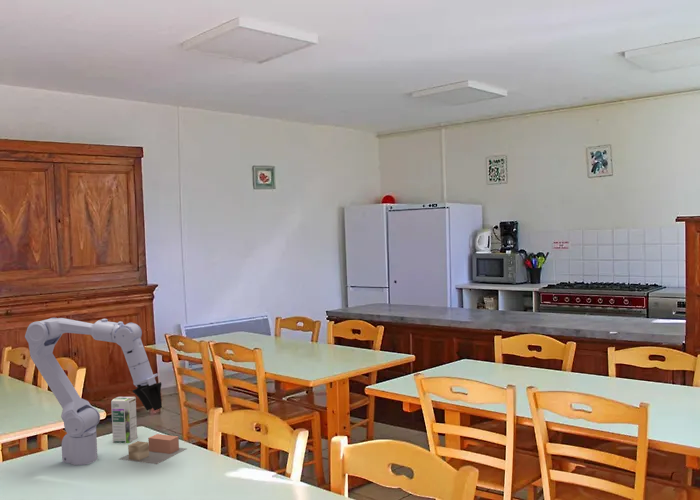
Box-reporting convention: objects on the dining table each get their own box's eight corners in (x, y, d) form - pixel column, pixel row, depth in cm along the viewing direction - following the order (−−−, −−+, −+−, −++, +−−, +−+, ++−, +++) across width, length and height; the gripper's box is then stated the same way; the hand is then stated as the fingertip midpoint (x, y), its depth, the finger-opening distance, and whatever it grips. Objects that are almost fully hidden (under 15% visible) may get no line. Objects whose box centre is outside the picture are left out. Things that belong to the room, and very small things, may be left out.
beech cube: (128, 459, 192) (128, 445, 192) (138, 454, 195) (137, 441, 195) (139, 460, 190) (139, 446, 190) (148, 455, 194) (148, 442, 194)
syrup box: (112, 446, 208) (110, 400, 207) (121, 440, 214) (119, 395, 213) (129, 446, 207) (127, 400, 206) (138, 440, 213) (136, 395, 212)
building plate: (118, 462, 192) (118, 459, 192) (150, 447, 205) (150, 444, 205) (156, 467, 186) (156, 464, 186) (187, 451, 199) (187, 448, 199)
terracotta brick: (148, 451, 198) (148, 437, 198) (157, 447, 202) (157, 434, 202) (170, 453, 195) (169, 440, 195) (179, 449, 199) (178, 436, 199)
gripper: (159, 357, 185) (175, 403, 185) (145, 360, 197) (160, 403, 197) (135, 366, 181) (151, 413, 181) (122, 369, 193) (137, 413, 193)
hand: (154, 409), depth 189 cm, fingers open, 7 cm apart
